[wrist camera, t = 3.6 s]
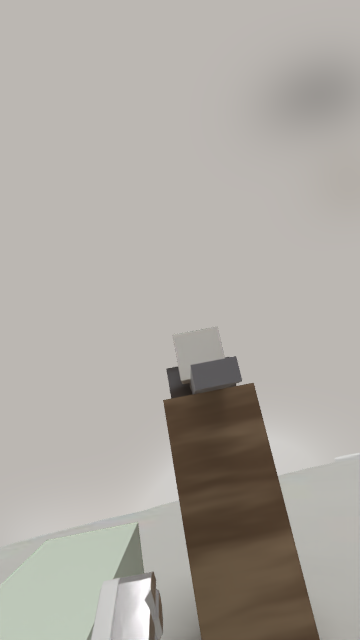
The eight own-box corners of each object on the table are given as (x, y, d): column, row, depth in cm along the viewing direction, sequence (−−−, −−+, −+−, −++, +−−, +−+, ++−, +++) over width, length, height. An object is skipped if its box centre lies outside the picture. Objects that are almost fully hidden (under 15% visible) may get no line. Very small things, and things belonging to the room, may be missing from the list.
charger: (257, 378, 17) (232, 283, 19) (179, 393, 17) (162, 296, 19) (224, 389, 34) (213, 338, 36) (184, 397, 34) (175, 345, 36)
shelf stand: (343, 732, 20) (243, 343, 28) (220, 759, 20) (156, 359, 28) (287, 611, 31) (227, 360, 40) (209, 627, 31) (166, 372, 39)
